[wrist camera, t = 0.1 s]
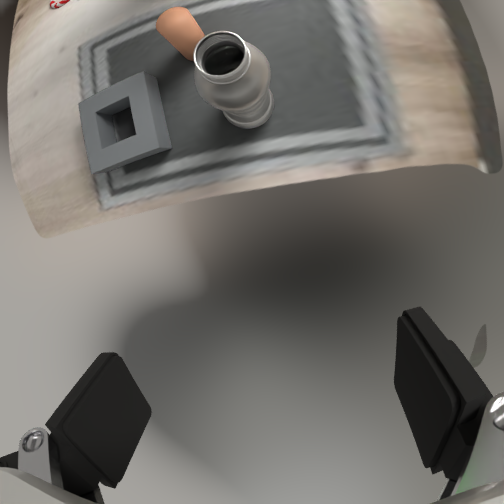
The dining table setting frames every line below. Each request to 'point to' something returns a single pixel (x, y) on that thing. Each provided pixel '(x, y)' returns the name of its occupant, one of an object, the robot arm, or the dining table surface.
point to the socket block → (144, 116)
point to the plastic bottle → (234, 78)
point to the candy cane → (57, 5)
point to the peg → (180, 30)
